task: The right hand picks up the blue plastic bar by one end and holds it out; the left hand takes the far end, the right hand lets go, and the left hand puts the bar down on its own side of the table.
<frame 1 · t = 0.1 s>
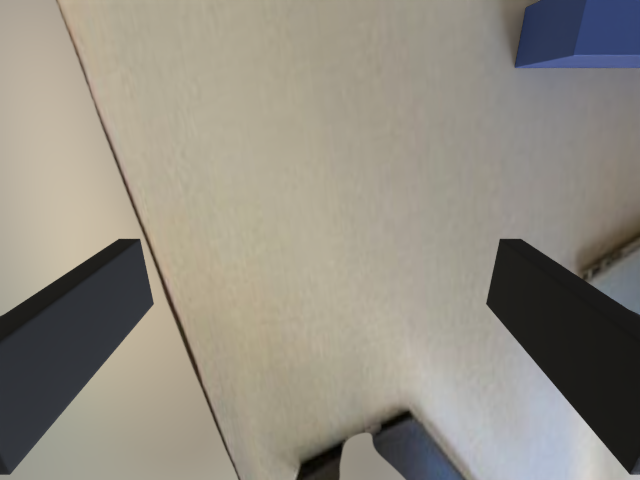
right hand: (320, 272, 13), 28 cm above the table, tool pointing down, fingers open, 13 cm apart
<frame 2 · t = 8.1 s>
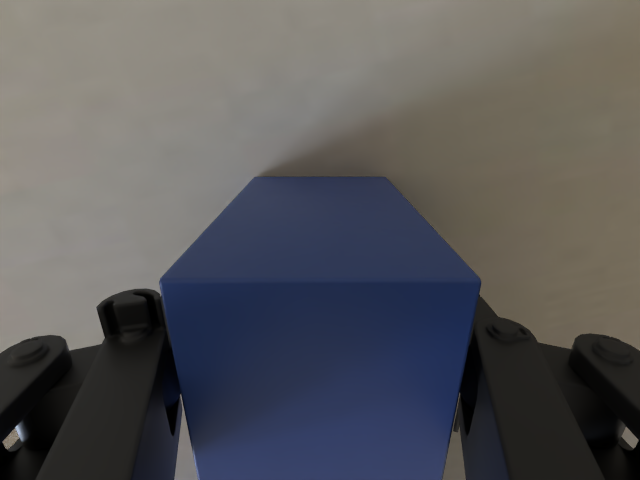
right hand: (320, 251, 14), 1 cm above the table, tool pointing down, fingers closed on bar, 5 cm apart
bar: (320, 437, 19), on the table, touching right hand
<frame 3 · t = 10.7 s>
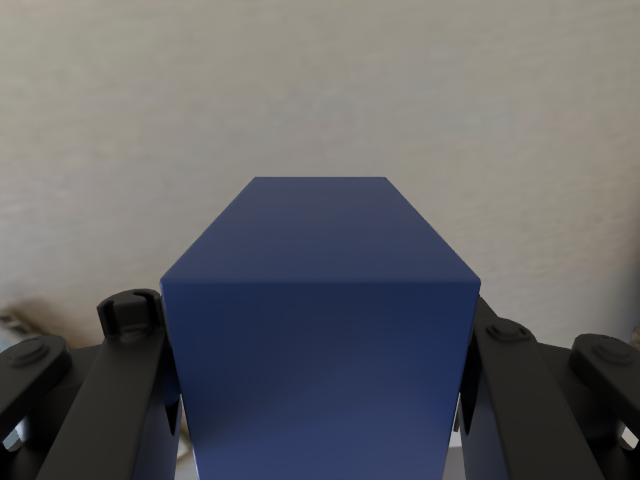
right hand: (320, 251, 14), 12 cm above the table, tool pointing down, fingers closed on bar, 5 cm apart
bar: (320, 437, 19), point 11 cm above the table, touching right hand
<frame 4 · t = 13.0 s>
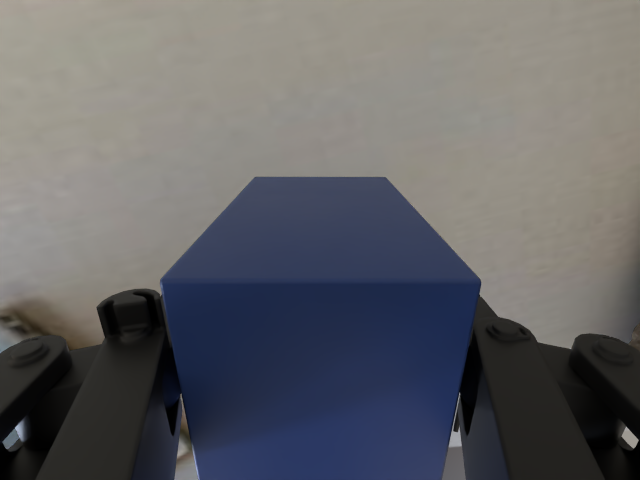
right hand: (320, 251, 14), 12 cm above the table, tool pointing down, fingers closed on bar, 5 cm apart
bar: (319, 437, 19), point 11 cm above the table, touching right hand, left hand
when the right hand's fingers open (12 cm above the table, at t = 13.8 s): bar stays where it is, held by the left hand.
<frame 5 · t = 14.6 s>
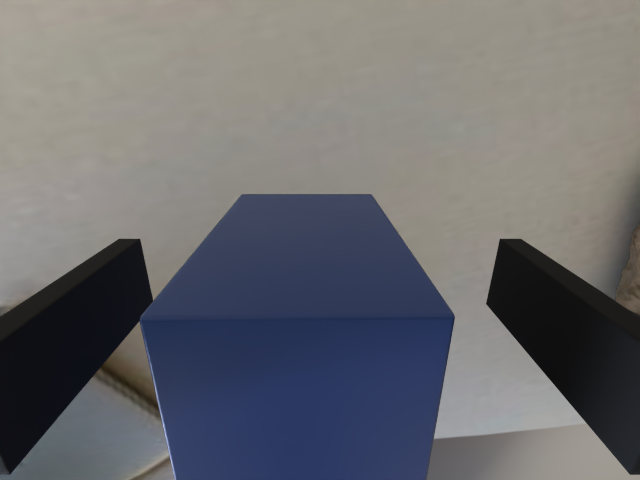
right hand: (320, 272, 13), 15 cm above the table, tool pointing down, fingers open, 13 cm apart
bar: (309, 449, 19), point 13 cm above the table, touching left hand
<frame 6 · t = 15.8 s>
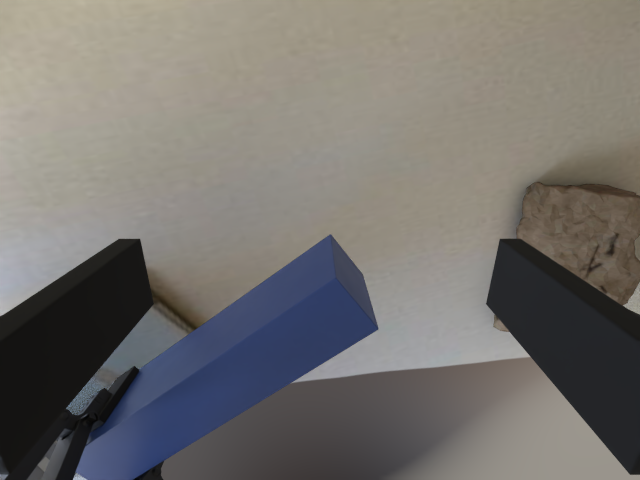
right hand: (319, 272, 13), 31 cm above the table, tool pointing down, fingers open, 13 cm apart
bar: (231, 333, 35), point 13 cm above the table, touching left hand
stone: (550, 254, 46), on the table
when the left hand's fingers open (2 cm above the table, at t = 18.6 s): bar stays where it is, on the table.
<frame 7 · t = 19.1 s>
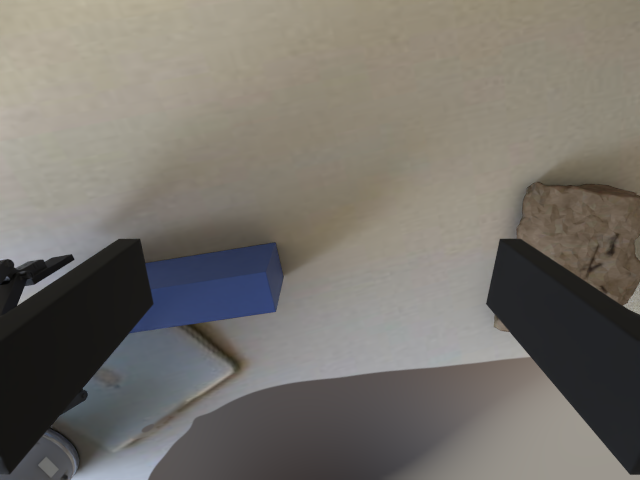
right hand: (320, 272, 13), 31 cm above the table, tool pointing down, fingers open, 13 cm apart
bar: (177, 275, 48), on the table
stone: (550, 254, 46), on the table
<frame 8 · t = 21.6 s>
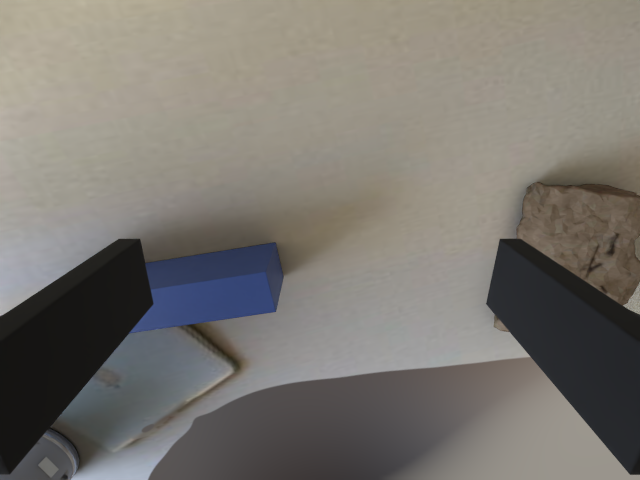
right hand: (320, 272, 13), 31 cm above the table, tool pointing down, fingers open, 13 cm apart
bar: (177, 275, 48), on the table
stone: (550, 254, 46), on the table
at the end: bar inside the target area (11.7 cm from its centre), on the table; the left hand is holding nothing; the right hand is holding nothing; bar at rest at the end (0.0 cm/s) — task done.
